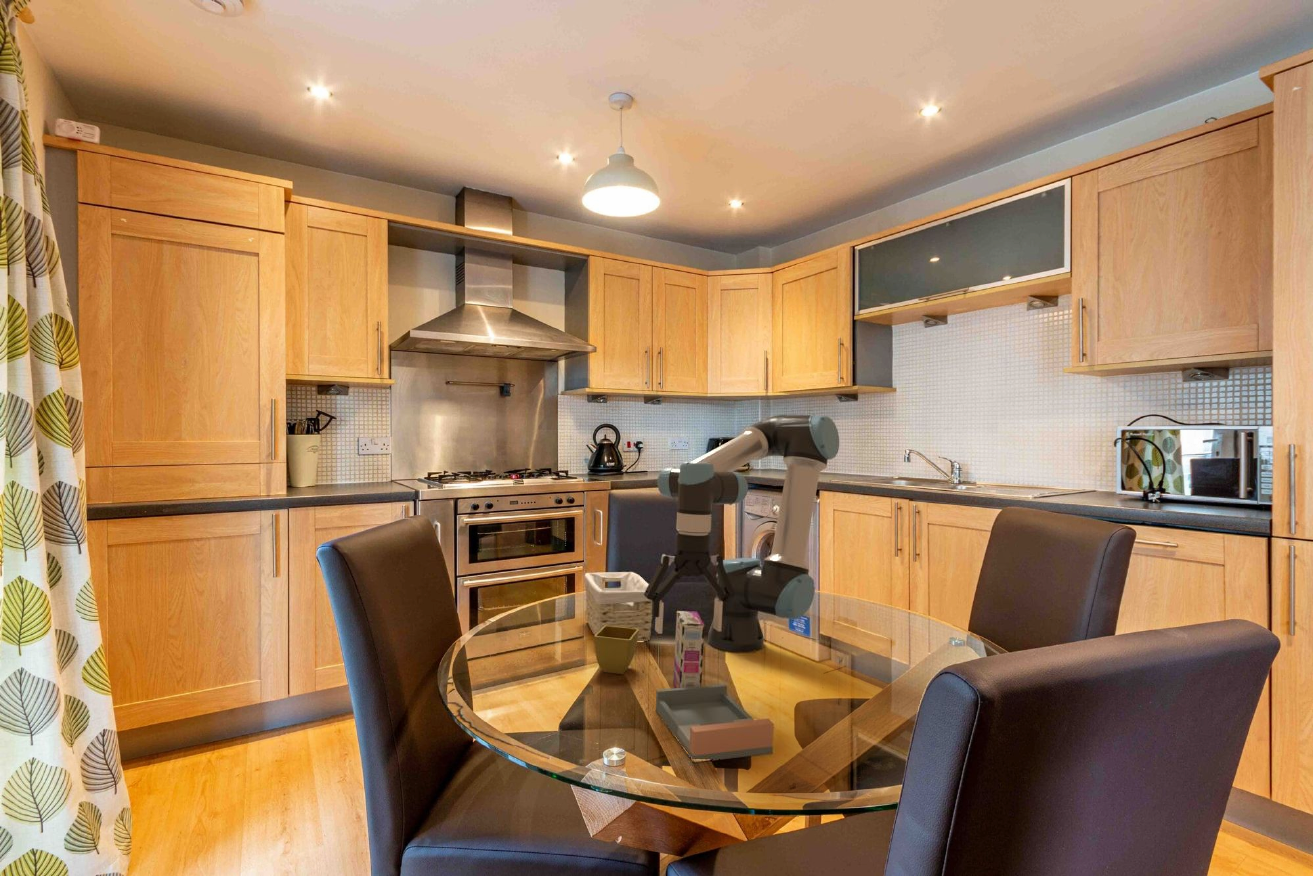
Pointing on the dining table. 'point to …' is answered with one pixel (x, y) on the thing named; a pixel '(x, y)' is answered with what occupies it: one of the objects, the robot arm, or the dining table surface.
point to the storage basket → (618, 602)
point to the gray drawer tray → (713, 723)
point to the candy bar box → (688, 650)
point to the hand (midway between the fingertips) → (688, 630)
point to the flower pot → (615, 648)
